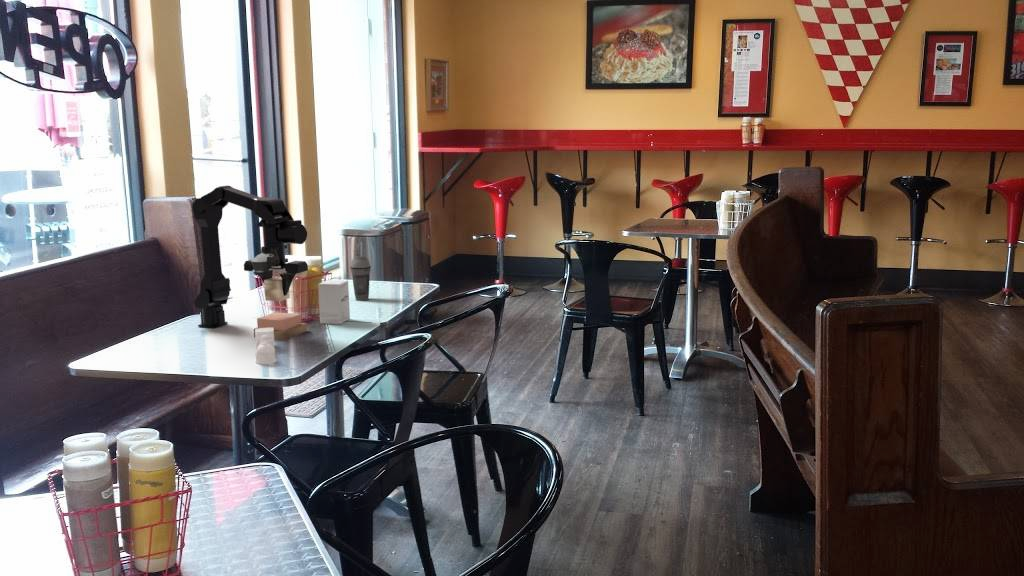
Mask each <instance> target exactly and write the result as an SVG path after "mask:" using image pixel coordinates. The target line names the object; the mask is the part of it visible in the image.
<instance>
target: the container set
mask: <svg viewBox="0 0 1024 576" xmlns="http://www.w3.org/2000/svg"><path fill="white" fill-rule="evenodd" d="M255 328H256V329H255ZM255 328H254V329H255V337H254V338H255V364H257V365H270V364H274V363H276V362H277V359H276V347H275V346H276V345H275V344H276V343H275V339H274V329H273V327H271V328H270V327H269V328H257V327H255Z"/></svg>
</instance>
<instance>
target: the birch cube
mask: <svg viewBox="0 0 1024 576" xmlns="http://www.w3.org/2000/svg"><path fill="white" fill-rule="evenodd" d="M263 285H264V287H263V288H264V297H265V298H264V299H265V301H271V302H282V301H285V300H287V299H290V298H291V295H290V294H291V293H290V290H289V291H288V293H287V295H286V296H284V294H283V285H282V278H281V276H280V277H276V276H274V277H273V278H270V279H266V280H264V284H263Z"/></svg>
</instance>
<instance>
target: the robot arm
mask: <svg viewBox="0 0 1024 576" xmlns="http://www.w3.org/2000/svg"><path fill="white" fill-rule="evenodd" d="M229 204H233V205H235V206H239V207H241V208H243V209H246V210H250V211H251V212H253V214H254V215H255V216H256V217H257V218H260V221H259V222H258V223H257V224H256V226H257V227H259V228H262V234H263V237H262V238H263V246H261V248H260V254H257V255H256V256H255V257H253V259H252V258H251V259H249V260H245V262H244V264H243V270H244V271H245V272H253V274H254V275H257V276H258V277H259V278H260V280H261V281H262V283H263V285H264V280H266V279H270V278H273V276H274V274H273V273H274V270H283V272H281V273H279V276H280V278H282V285H283V294H284V296H286V295H287V293H288V291H289V292H290V287H291V285H292V283H293V280H294V278H295V277H296V274H300V273H304V272H307V271H308V270H309V265H308V263H307V262H306V261H305V260H304V261H303V260H294V261H289V259H288V258H286V252H285V251H286V249H288V245H287V244H293V245H297V244H298V245H302V244H304V243H305V242H306V241H307V238H308V230H307V228H306V226H305V225H303V224H302V222H303V221H302V220H301V219H297V220H295V219H294V218H293V216H292V215H291V213H290V212H289V210H288V209H287V207H286V205H285V203H284V201H283V199H281V198H277V197H265V196H264V197H261V196H257V195H255V194H252V193H249V192H245V191H243V190H241V189H237V188H235V187H233V186H231V185H220V186H217V187H215V188H214V189H212V191H210V192H209V193H207V194H204V195H202V196H201V197H199V198H196V199H195V200H194V201H193V203H192V212H193V216H194V220H195V222H196V223H197V224H198V225H199V227H200V233H201V245H202V258H203V267H204V275H203V276H202V280H201V281H200V288H199V289H200V290H199V293H198V295H197V297H195V299H194V300H193V304H194V307H195V309H200V310H199V311H200V320H201V321H200V324H198V325H197V327H200V328H212V329H216V328H218V327H221V326H224V325H227V324H228V321H226V317H225V315H226V314H225V309H224V305H227V304H228V299H229V296H230V293H231V291H232V289H231V286H230V285H231V283H230V282H231V279H230V277H226V276H225V275H224V274H223V270H222V259H221V247H220V245H221V244H220V237H219V235H220V234H219V226H220V223H221V221H222V218H223V209H224V208H226V207H227V206H228V205H229Z"/></svg>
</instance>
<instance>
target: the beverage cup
mask: <svg viewBox="0 0 1024 576" xmlns="http://www.w3.org/2000/svg"><path fill="white" fill-rule="evenodd" d="M363 244H364V243H362V242H360V255H356V256H354V257H353V258H352V260H351V261H350V267H349V268H350V272H351V278H352V284H353V290H354V291H353V292H354V298H355V301H357V302H363V301H369V299H370V298H369V295H370V277H371V276H370V275H371V274H370V273H371V267H372V265H371V262H370V259H369V258H367V256H364V255H363Z"/></svg>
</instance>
